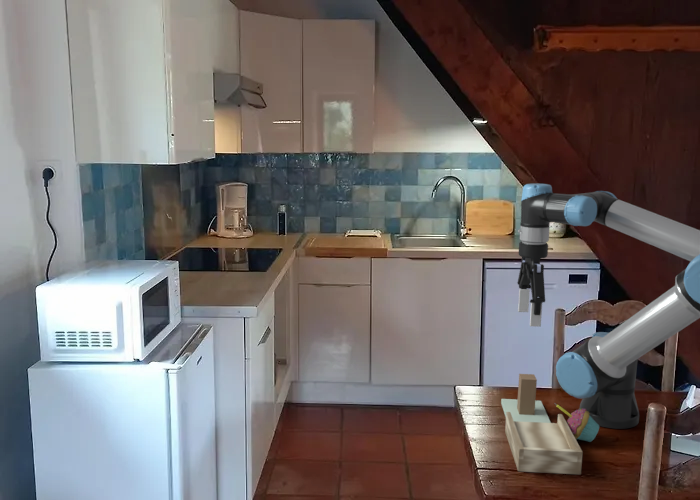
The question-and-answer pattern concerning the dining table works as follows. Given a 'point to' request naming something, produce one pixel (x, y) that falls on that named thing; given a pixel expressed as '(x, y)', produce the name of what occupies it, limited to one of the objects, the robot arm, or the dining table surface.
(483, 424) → the dining table surface
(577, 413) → the cupcake
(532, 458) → the birch box
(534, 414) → the cover plate
